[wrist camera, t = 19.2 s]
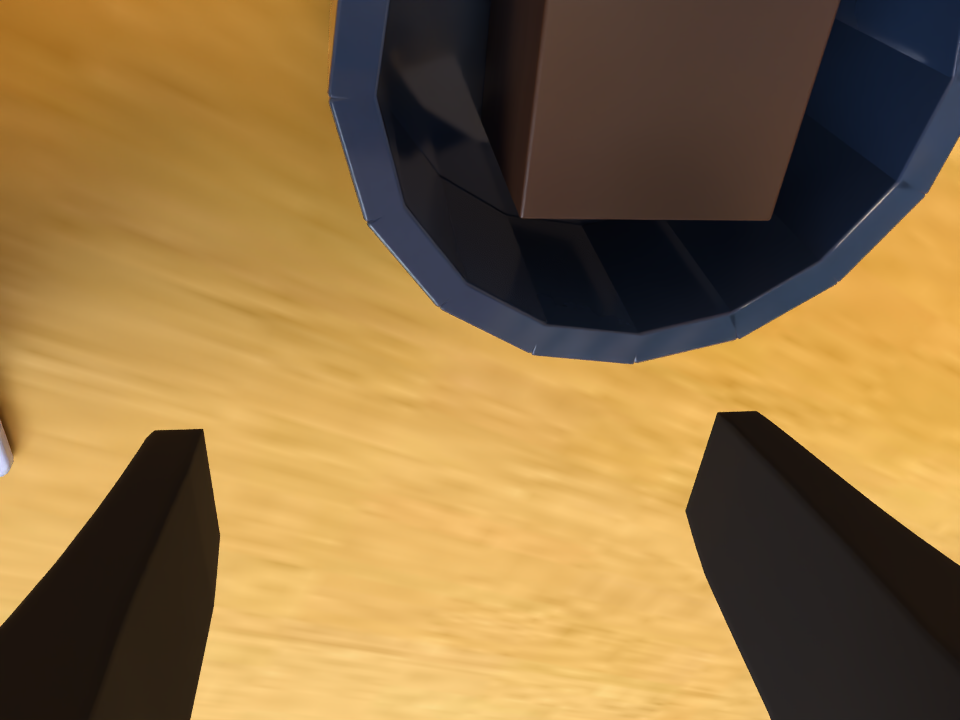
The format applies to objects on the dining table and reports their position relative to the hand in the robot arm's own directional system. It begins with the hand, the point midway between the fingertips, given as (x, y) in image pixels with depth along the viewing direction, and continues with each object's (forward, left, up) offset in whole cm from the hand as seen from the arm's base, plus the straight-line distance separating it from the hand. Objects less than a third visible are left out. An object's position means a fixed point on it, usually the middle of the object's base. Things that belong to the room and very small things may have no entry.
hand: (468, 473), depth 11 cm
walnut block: (+4, +4, -10) cm, 11 cm away
